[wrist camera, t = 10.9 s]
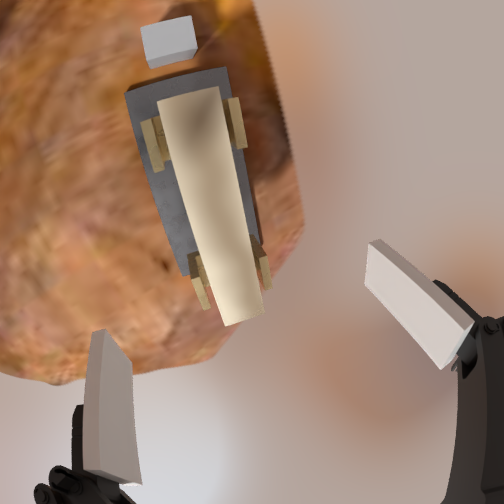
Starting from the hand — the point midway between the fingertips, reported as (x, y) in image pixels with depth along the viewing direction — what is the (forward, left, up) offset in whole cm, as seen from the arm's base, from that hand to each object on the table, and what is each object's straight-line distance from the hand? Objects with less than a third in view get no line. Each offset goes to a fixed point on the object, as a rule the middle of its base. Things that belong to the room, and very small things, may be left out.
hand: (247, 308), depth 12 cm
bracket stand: (0, -1, -25) cm, 25 cm away
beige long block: (0, 0, -15) cm, 15 cm away
